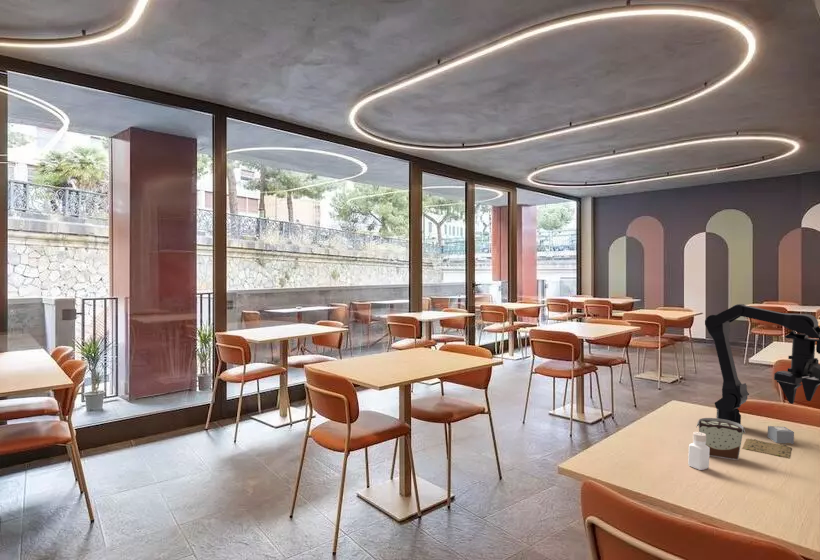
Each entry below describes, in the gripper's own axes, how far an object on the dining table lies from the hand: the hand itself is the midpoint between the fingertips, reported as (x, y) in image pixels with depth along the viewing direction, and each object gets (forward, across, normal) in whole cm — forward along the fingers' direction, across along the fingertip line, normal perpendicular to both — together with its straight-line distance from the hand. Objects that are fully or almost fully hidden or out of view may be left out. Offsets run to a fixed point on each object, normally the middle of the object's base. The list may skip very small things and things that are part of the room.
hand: (800, 402), depth 160 cm
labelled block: (+13, -4, +3) cm, 14 cm away
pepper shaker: (+13, -49, -2) cm, 51 cm away
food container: (+13, -34, +3) cm, 37 cm away
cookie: (+14, -15, 0) cm, 20 cm away
